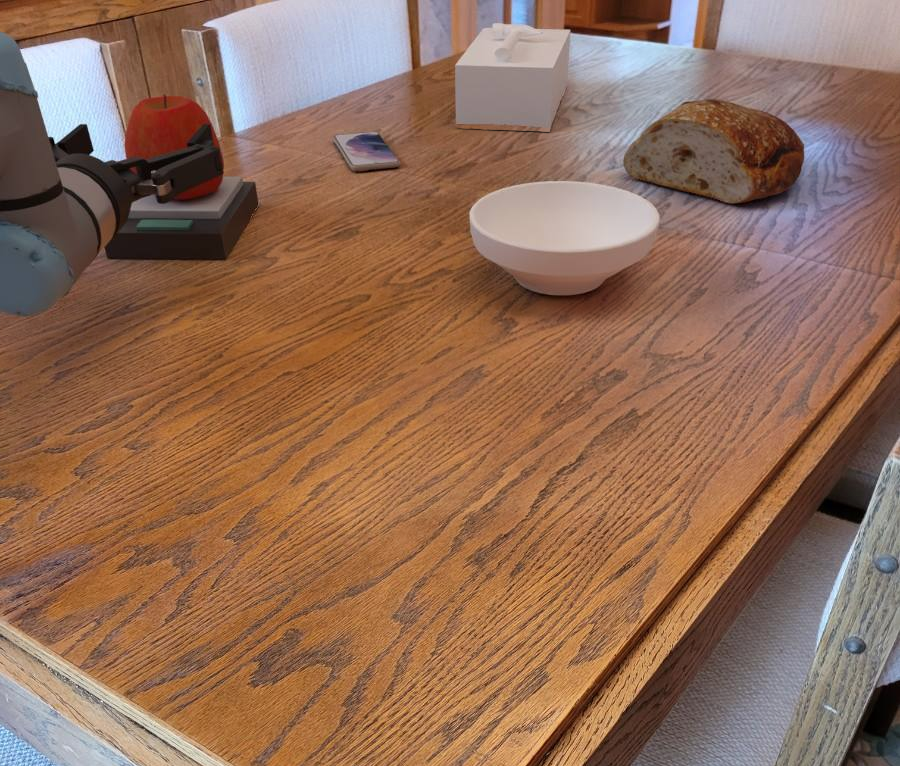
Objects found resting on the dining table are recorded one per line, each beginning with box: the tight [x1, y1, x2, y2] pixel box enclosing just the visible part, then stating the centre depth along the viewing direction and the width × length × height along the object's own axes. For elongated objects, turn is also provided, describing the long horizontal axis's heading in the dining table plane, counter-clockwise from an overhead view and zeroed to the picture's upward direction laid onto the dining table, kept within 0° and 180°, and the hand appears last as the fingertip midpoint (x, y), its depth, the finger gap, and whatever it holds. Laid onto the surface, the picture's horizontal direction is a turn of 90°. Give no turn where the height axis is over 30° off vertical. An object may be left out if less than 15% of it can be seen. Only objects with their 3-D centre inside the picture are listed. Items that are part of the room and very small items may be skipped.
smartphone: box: [332, 131, 401, 172], centre depth 129 cm, size 7×1×15 cm
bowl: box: [468, 180, 661, 296], centre depth 95 cm, size 20×20×7 cm
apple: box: [124, 94, 225, 199], centre depth 105 cm, size 11×11×11 cm
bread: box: [622, 98, 805, 204], centre depth 116 cm, size 20×18×10 cm
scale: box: [103, 176, 260, 261], centre depth 109 cm, size 14×17×4 cm
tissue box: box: [454, 22, 571, 128], centre depth 142 cm, size 14×25×11 cm, turn 169°
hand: (148, 137), depth 98 cm, fingers open, 13 cm apart
